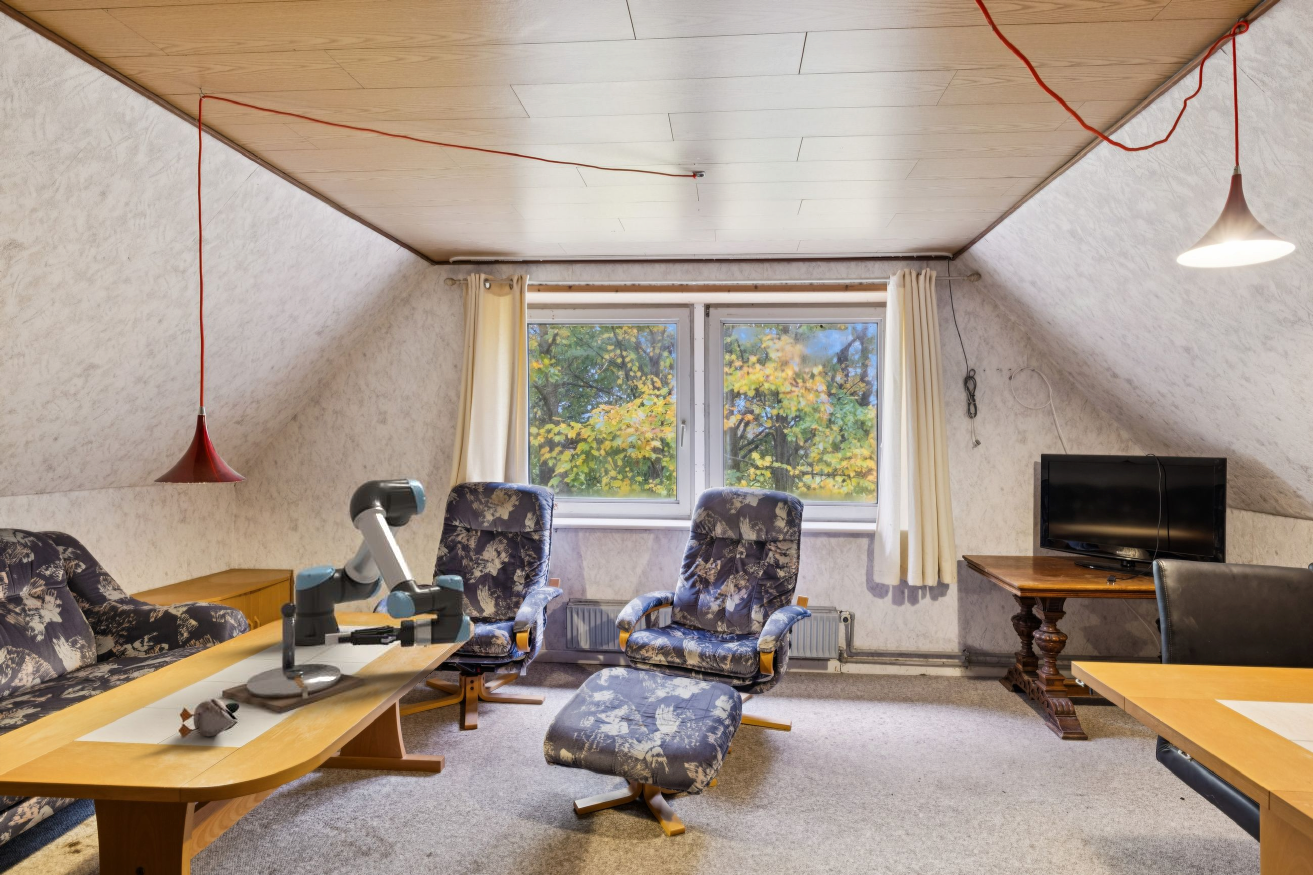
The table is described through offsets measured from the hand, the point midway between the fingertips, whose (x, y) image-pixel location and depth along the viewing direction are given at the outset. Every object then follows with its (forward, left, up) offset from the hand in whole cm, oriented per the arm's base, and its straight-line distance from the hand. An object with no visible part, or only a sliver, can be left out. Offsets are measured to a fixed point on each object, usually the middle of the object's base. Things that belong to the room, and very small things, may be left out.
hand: (325, 639), depth 205 cm
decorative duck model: (+13, -37, -11) cm, 40 cm away
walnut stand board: (+3, -11, -10) cm, 15 cm away
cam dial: (+2, -11, -8) cm, 14 cm away
